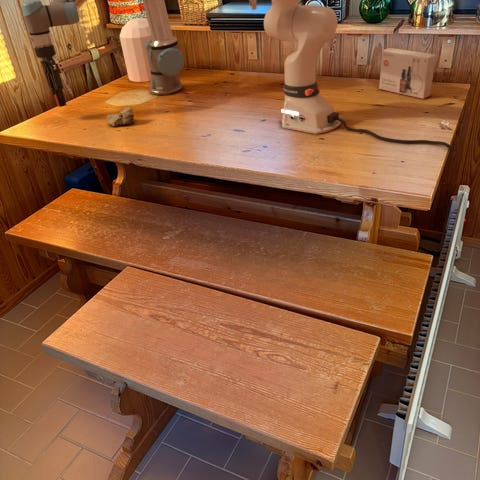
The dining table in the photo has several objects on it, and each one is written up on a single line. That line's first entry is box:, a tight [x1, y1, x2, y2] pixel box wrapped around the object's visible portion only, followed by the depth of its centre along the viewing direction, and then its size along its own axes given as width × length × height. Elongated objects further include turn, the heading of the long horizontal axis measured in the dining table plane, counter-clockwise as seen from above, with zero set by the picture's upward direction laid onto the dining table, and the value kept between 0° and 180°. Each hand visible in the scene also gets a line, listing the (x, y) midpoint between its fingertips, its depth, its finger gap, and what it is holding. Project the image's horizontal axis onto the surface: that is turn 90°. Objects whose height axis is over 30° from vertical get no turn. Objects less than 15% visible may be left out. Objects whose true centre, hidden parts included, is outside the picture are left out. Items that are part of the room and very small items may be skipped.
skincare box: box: [378, 47, 437, 100], centre depth 184 cm, size 21×6×16 cm, turn 40°
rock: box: [107, 106, 135, 127], centre depth 186 cm, size 11×6×10 cm
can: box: [53, 94, 61, 108], centre depth 191 cm, size 4×4×5 cm
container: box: [119, 17, 153, 83], centre depth 235 cm, size 21×21×28 cm
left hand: (61, 104), depth 193 cm, fingers closed on can, 4 cm apart
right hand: (253, 7), depth 187 cm, fingers open, 8 cm apart
